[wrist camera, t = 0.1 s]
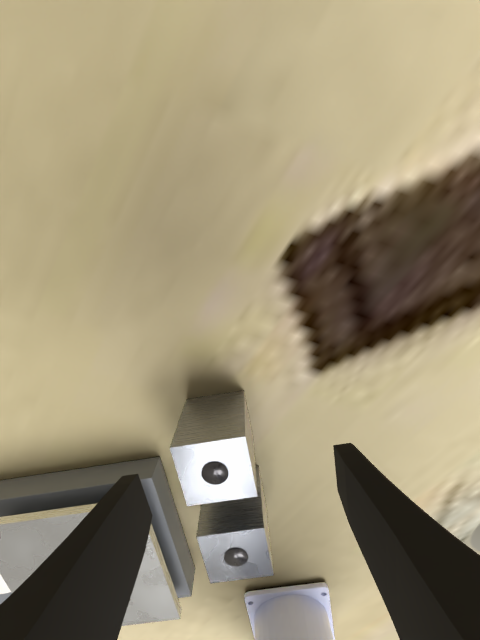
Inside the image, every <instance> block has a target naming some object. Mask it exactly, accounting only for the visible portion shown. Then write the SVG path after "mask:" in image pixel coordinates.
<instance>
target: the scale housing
mask: <svg viewBox="0 0 480 640" xmlns="http://www.w3.org/2000/svg"><path fill="white" fill-rule="evenodd" d="M132 474H138V475H139V478H140V481H141V484H142V486H143V489H144V492H145V495H146V498H147V501H148V504H149V507H150V510H151V512H152V515H153V516H152V521H151V524H152V526H153V529H154V532H155V535H156V538H157V541H158V543H159V546H160V549H161V552H162V555H163V557H164V560H165V563H166V566H167V569H168V571H169V574H170V577H171V580H172V583H173V585H174V588H175V591H176V594H177V597H178V598H181V597H189V596H191V595H192V588H193V581H194V573H195V567H194V564H193V561H192V558H191V554H190V551H189V548H188V545H187V542H186V539H185V535H184V532H183V529H182V526H181V523H180V520H179V516H178V513H177V510H176V507H175V504H174V501H173V497H172V494H171V491H170V488H169V485H168V482H167V478H166V475H165V472H164V469H163V466H162V463H161V459H160V457H155V458H148V459H141V460H134V461H128V462H121V463H114V464H108V465H101V466H94V467H87V468H81V469H74V470H67V471H60V472H54V473H47V474H40V475H34V476H27V477H20V478H13V479H7V480H0V517H4V516H11V515H18V514H25V513H32V512H39V511H46V510H53V509H60V508H67V507H74V506H82V505H89V504H96V503H98V502H99V501H100V500H101V499H102V498H103V496H104V495H105V494H106V493H107V492H108V491H109V490H110V489H111V487H112V486H113V485H114V484H115V483H116V482H117V481H118V480H119V479H120V478H121V477H122V476H125V475H132ZM11 594H12V593H11V591H10V589H9V588H8V586H7V584H6V583H5V581H4V579H3V578H2V576H1V574H0V604H2V603H3V602H4V601H5V600H6V599H7V598H8V597H9V596H10V595H11Z"/></svg>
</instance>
